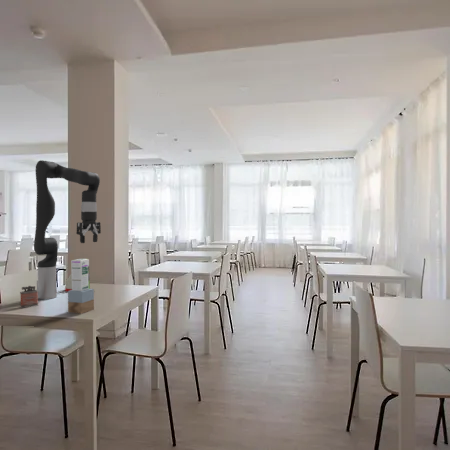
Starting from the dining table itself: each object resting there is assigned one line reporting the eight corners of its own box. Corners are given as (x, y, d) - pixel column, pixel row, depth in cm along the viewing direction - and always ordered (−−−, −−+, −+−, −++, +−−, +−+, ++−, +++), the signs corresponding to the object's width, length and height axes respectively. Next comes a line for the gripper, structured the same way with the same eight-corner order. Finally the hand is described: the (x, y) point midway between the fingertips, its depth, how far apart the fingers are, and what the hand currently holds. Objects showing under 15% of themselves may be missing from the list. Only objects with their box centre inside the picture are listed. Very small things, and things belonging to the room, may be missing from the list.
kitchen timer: (84, 286, 237) (83, 263, 237) (92, 289, 227) (92, 265, 226) (61, 289, 227) (61, 265, 227) (70, 292, 217) (69, 267, 217)
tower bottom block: (68, 312, 170) (68, 301, 170) (81, 308, 178) (80, 298, 178) (81, 313, 167) (81, 302, 167) (93, 309, 174) (93, 299, 174)
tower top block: (68, 301, 170) (68, 291, 170) (79, 298, 177) (79, 288, 177) (82, 302, 167) (82, 292, 167) (93, 299, 175) (93, 288, 175)
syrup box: (81, 291, 169) (81, 260, 168) (71, 290, 170) (70, 259, 170) (89, 289, 174) (89, 258, 174) (79, 288, 176) (79, 258, 176)
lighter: (36, 304, 187) (36, 284, 187) (39, 305, 185) (38, 285, 185) (19, 306, 181) (19, 286, 181) (21, 307, 179) (21, 287, 179)
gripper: (93, 211, 195) (93, 241, 196) (72, 210, 182) (72, 243, 183) (104, 211, 192) (104, 242, 193) (84, 210, 179) (83, 243, 180)
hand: (88, 242), depth 188 cm, fingers open, 8 cm apart
